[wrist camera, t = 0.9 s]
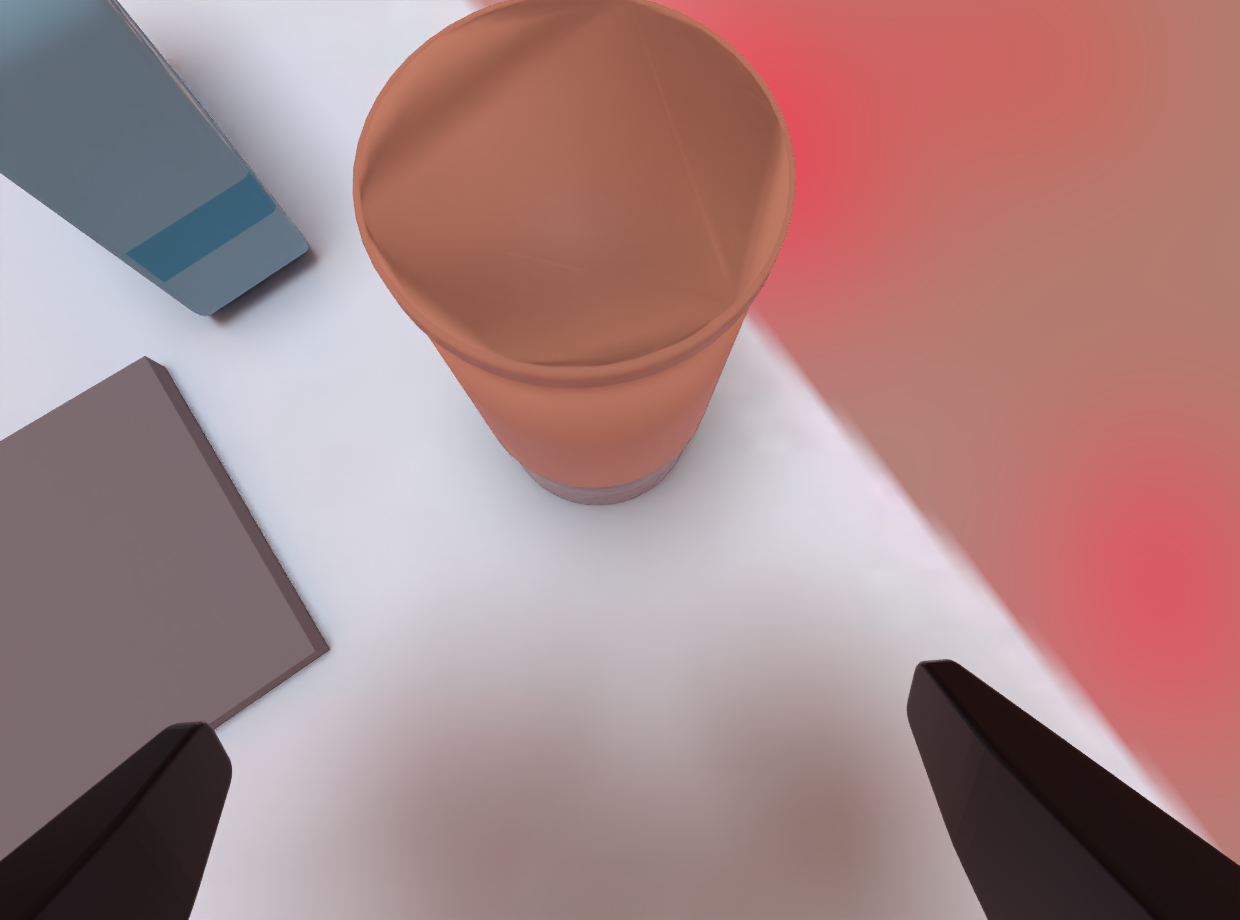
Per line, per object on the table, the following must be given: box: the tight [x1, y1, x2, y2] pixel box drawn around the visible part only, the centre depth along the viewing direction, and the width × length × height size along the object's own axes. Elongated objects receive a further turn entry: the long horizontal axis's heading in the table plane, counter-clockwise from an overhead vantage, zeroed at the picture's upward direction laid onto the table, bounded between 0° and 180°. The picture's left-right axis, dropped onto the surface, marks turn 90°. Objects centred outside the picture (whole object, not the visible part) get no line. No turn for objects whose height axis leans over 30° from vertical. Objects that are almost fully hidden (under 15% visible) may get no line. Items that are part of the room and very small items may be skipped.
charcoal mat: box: [0, 356, 329, 860], centre depth 21 cm, size 12×12×1 cm
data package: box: [0, 0, 308, 316], centre depth 19 cm, size 12×4×12 cm, turn 39°
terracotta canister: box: [353, 0, 795, 488], centre depth 15 cm, size 7×7×9 cm
